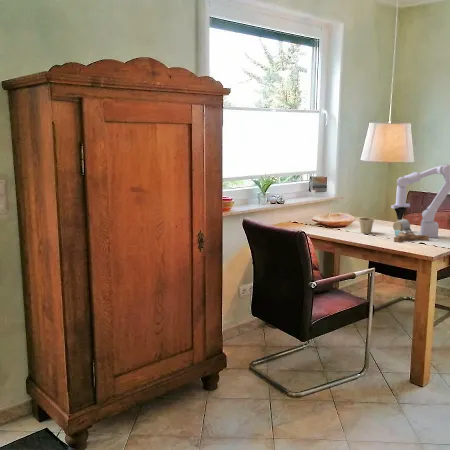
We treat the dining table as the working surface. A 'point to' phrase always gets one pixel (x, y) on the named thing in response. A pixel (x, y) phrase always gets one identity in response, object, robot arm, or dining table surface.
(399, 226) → the ceramic mug
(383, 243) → the dining table surface
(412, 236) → the brown irregular flat piece
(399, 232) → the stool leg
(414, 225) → the dining table surface
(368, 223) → the flower pot
